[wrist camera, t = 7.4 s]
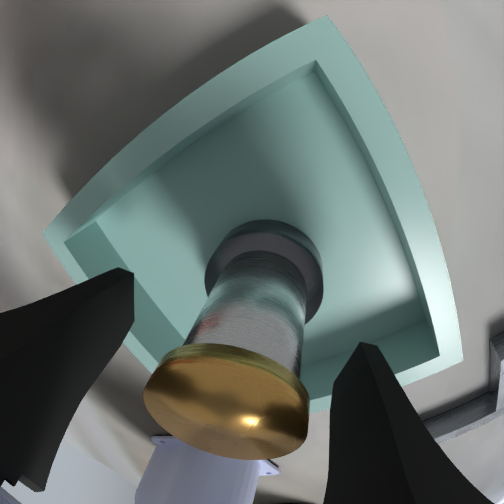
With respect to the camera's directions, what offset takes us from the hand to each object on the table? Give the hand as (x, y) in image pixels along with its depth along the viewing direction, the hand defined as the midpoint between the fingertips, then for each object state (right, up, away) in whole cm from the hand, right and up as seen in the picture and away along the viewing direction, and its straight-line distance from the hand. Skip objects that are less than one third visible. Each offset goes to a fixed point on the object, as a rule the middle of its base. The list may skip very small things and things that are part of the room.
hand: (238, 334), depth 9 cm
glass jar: (+1, +2, +3) cm, 4 cm away
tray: (+1, +2, +4) cm, 4 cm away
